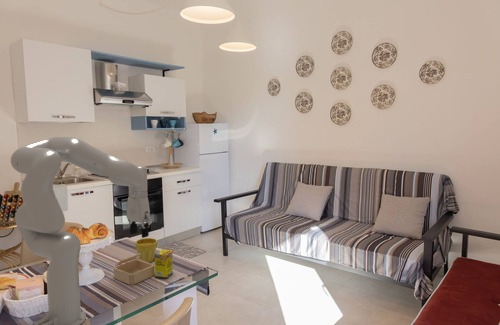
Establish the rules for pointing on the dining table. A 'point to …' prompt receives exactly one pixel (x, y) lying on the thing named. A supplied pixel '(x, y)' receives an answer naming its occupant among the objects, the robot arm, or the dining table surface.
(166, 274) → the supplement box
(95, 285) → the dining table surface
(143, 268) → the carton
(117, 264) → the flap
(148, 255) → the plant pot
